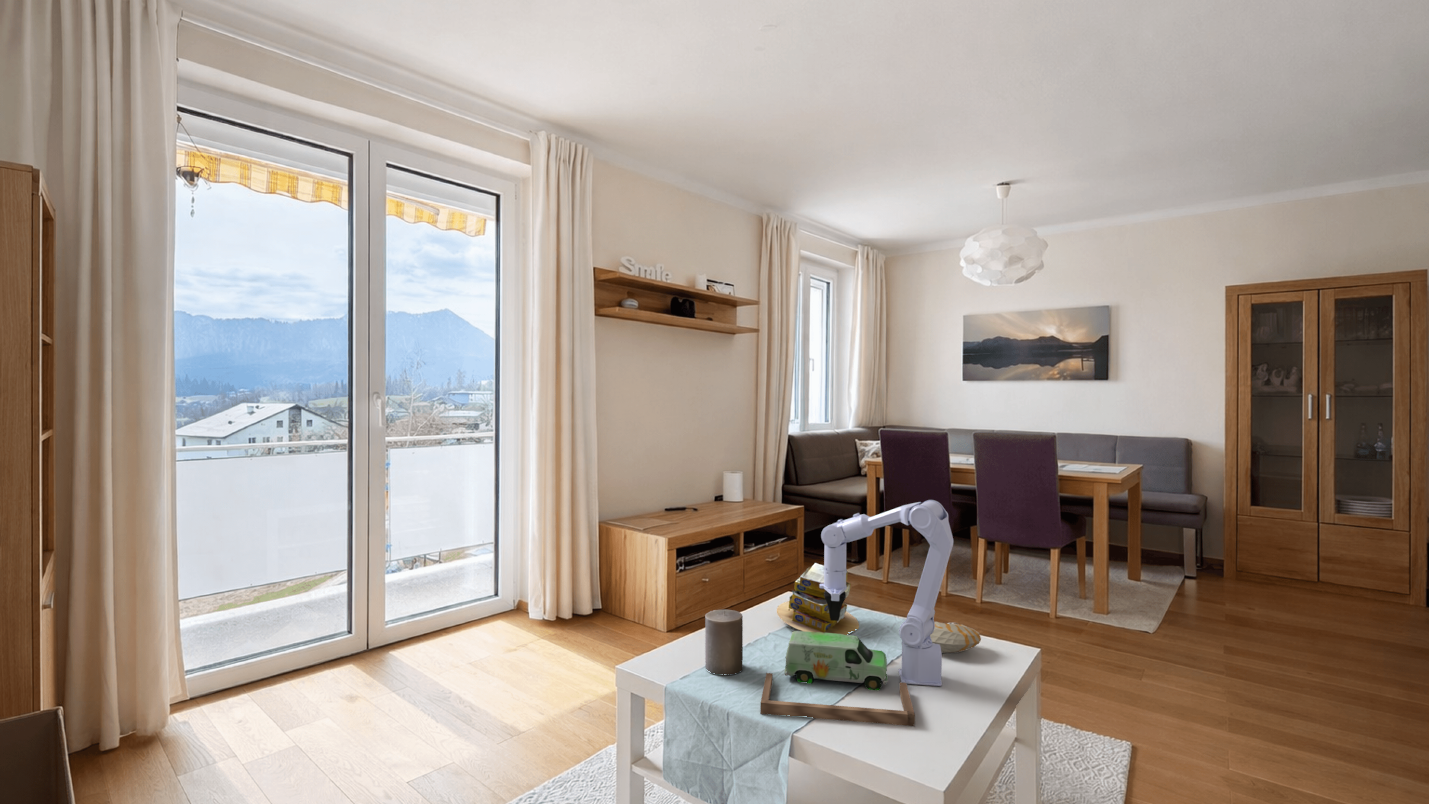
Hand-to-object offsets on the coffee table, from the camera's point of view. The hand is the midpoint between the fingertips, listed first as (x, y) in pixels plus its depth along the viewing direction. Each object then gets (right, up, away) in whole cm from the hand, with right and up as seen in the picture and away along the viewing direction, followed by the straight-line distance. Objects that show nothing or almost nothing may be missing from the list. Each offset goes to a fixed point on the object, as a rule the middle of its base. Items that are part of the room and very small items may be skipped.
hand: (834, 619), depth 185 cm
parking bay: (-4, -11, -25) cm, 28 cm away
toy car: (-2, -11, -11) cm, 16 cm away
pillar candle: (-29, -11, -6) cm, 32 cm away
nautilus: (+30, -11, +9) cm, 33 cm away
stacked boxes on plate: (0, -10, +28) cm, 29 cm away
